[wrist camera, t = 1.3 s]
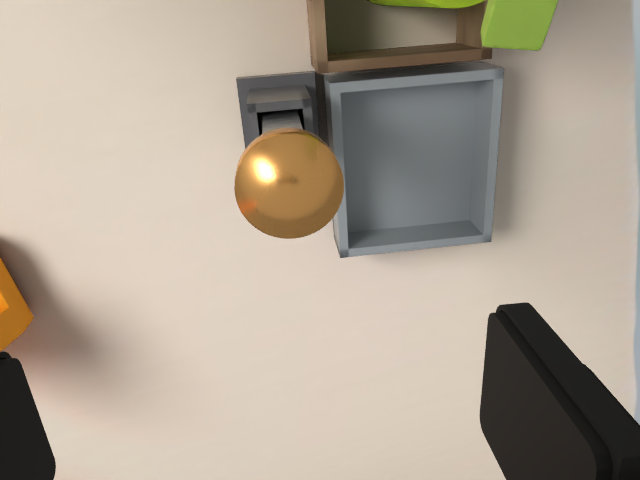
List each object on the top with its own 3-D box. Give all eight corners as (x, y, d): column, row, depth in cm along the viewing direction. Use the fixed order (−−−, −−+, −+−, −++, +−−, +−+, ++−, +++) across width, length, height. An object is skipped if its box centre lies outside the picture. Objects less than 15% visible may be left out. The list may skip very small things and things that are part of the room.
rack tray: (323, 75, 34) (329, 83, 31) (482, 62, 35) (504, 68, 32) (334, 237, 39) (340, 257, 36) (473, 222, 40) (491, 241, 37)
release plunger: (240, 89, 31) (227, 139, 20) (313, 82, 32) (341, 129, 20) (249, 160, 33) (242, 243, 22) (318, 153, 34) (346, 232, 22)
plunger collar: (236, 77, 34) (231, 92, 29) (313, 70, 34) (323, 84, 29) (246, 152, 36) (243, 179, 31) (318, 145, 36) (328, 171, 31)
